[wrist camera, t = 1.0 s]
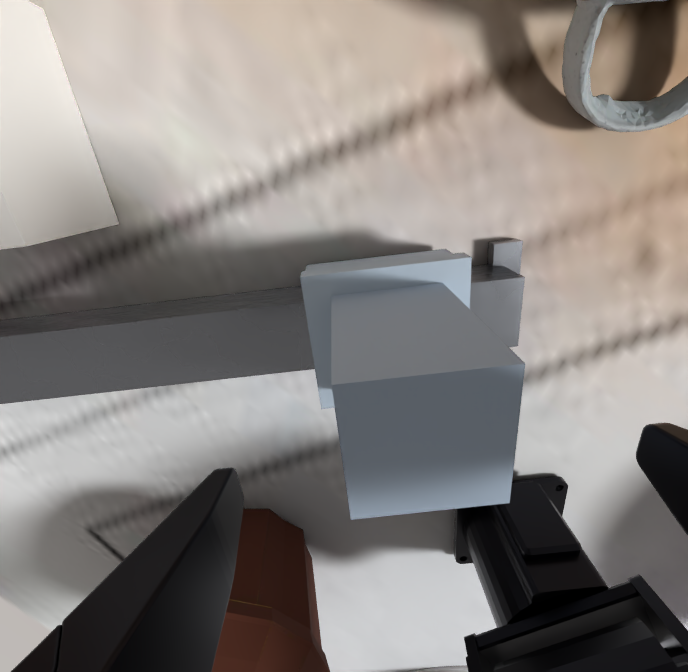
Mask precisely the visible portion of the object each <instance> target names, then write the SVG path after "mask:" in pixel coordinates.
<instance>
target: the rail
mask: <svg viewBox="0 0 688 672" xmlns="http://www.w3.org/2000/svg"><path fill="white" fill-rule="evenodd" d="M522 244H523V241H521V240H518V239H509V240H501V241H492V242H489V245H488V263H487V265H478V266H471V288H470V310H471V311H472V312H473V313H474V314H475V315H476V316H477V317H478V318H479V319H480V320H481V321H482V322H483V323H484V324H485V325H486V326H487V327H488V328H489V329H490V330H491V331H492V332H494V333H495V334H496V335H497V336H498V337H499V338H500V339H501V340H502V341H503V342H504V343H505V344H506V345H507V346H508V347H515V346H518V339H519V329H520V319H521V309H522V299H523V289H524V279H525V277H523V276H522V275H520V265H521V254H522ZM309 369H315V366H314V360H313V354H312V348H311V341H310V335H309V329H308V323H307V317H306V311H305V305H304V298H303V292H302V286H296V287H287V288H278V289H270V290H261V291H252V292H244V293H235V294H226V295H218V296H209V297H200V298H192V299H183V300H174V301H165V302H157V303H148V304H139V305H131V306H122V307H113V308H105V309H96V310H87V311H79V312H70V313H61V314H53V315H44V316H35V317H26V318H18V319H9V320H0V404H5V403H14V402H23V401H31V400H40V399H49V398H58V397H67V396H76V395H85V394H94V393H103V392H112V391H121V390H130V389H139V388H148V387H157V386H166V385H175V384H184V383H193V382H202V381H211V380H220V379H228V378H237V377H246V376H255V375H264V374H273V373H282V372H291V371H300V370H309Z"/></svg>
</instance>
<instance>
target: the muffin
mask: <svg viewBox="0 0 688 672" xmlns="http://www.w3.org/2000/svg"><path fill="white" fill-rule="evenodd" d="M212 672H330V670H329V667H328V663H327V660H326V656H325V653H324V652H323V650H322V647H321V638H320V629H319V619H318V610H317V601H316V592H315V583H314V574H313V565H312V557H311V555H310V553H309V551H308V549H307V547H306V545H305V539H304V533H303V530H302V529H300V528H298V527H296V526H295V525H293V524H291V523H289V522H287V521H285V520H283V519H282V518H281V517H279V516H278V515H277V514H275V513H274V512H273V511H271V510H270V509H245V508H243V514H242V521H241V528H240V536H239V543H238V551H237V558H236V566H235V572H234V578H233V583H232V588H231V592H230V596H229V601H228V605H227V609H226V613H225V617H224V622H223V626H222V630H221V634H220V638H219V643H218V647H217V651H216V655H215V659H214V663H213V668H212Z"/></svg>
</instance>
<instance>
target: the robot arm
mask: <svg viewBox="0 0 688 672" xmlns="http://www.w3.org/2000/svg"><path fill="white" fill-rule="evenodd" d="M636 459H637V462H638V464H639V466H640V467H641V469H642V470H643V472H644V473H645V475H646V476H647V478H648V479H649V481H650V482H651V483H652V485H653V486H654V488H655V489H656V491H657V492H658V494H659V495H660V497H661V498H662V499H663V501H664V502H665V504H666V505H667V507H668V508H669V510H670V511H671V513H672V514H673V515H674V517H675V518H676V520H677V521H678V523H679V524H680V525H681V527H682V528H683V530H684V531H685V532H686V534H687V535H688V430H687V429H684V428H681V427H679V426H676V425H673V424H670V423H656V424H649V425H646V426H645V427H644V428H643V430H642V434H641V437H640V441H639V444H638V448H637V451H636ZM567 489H568V485H567V483H566V482H565V481H564V479H563V478H562V477H548V478H539V479H530V480H520V481H512V486H511V495H510V503H505V504H496V505H486V506H477V507H467V508H458V509H455V530H454V556H455V559H456V562H457V563H460V564H466V563H474V565H475V568H476V571H477V574H478V576H479V579H480V582H481V585H482V587H483V590H484V593H485V596H486V598H487V601H488V604H489V606H490V609H491V612H492V615H493V617H494V620H495V623H496V626H497V628H495V629H492V630H490V631H487V632H484V633H481V634H478V635H475V634H471V635H468V636H466V637H464V640H465V645H466V650H467V655H468V656H467V657H466V662H467V667H468V672H688V630H687V629H686V628H685V627H684V626H683V625H682V623H681V622H680V621H679V620H678V619H677V618H676V616H675V615H674V614H673V613H672V612H671V611H670V609H669V608H668V607H667V606H666V605H665V604H664V602H663V601H662V600H661V599H660V598H659V597H658V595H657V594H656V593H655V592H654V591H653V590H652V588H651V587H650V586H649V585H648V584H647V583H646V581H645V580H644V579H643V578H642V577H641V576H640V575H637V576H634V577H631V578H629V579H628V582H625V583H622V584H619V585H617V586H614V587H611V588H608V586H607V585H606V583H605V582H604V580H603V579H602V577H601V576H600V574H599V573H598V571H597V570H596V568H595V567H594V565H593V564H592V562H591V561H590V559H589V558H588V556H587V555H586V553H585V552H584V550H583V549H582V547H581V545H580V543H579V541H578V540H577V538H576V537H575V535H574V534H573V532H572V531H571V529H570V528H569V526H568V525H567V523H566V522H565V520H564V519H563V517H562V514H563V509H564V504H565V499H566V494H567ZM243 506H244V497H243V492H242V489H241V485H240V482H239V479H238V475H237V472H236V470H235V469H234V468H222V469H216V470H214V471H213V472H212V473H211V474H210V475H209V476H208V477H207V478H206V479H205V480H204V481H203V482H202V483H201V484H200V485H199V486H198V487H197V488H196V489H195V490H194V491H193V492H192V493H191V494H190V495H189V496H188V497H187V498H186V499H185V500H184V501H183V502H182V503H181V504H180V505H179V506H178V507H177V508H176V509H175V510H174V511H173V512H172V513H171V514H170V515H169V516H168V517H167V518H166V519H165V520H164V521H163V522H162V523H161V524H160V525H159V526H158V527H157V528H156V529H155V530H154V531H153V532H152V533H151V534H150V535H149V536H148V537H147V538H146V539H145V540H144V541H143V542H142V543H141V544H140V545H139V546H138V547H137V548H136V549H135V550H134V551H133V552H132V553H131V554H129V555H128V556H127V557H126V558H125V559H124V560H123V561H122V562H121V563H120V564H119V565H118V566H117V567H116V568H115V569H114V570H113V571H112V572H111V573H110V574H109V575H108V576H107V577H106V578H105V579H104V580H103V581H102V582H101V583H100V584H99V585H98V586H97V587H96V588H95V589H94V590H93V591H92V592H91V593H90V594H89V595H88V596H87V597H86V598H85V599H84V600H83V601H82V602H81V603H80V604H79V605H78V606H77V607H76V608H75V609H74V610H73V611H72V612H71V613H70V614H69V615H68V616H67V617H66V618H65V619H64V621H63V623H62V625H58V626H57V627H56V628H55V629H54V630H53V631H52V632H51V633H50V634H49V635H48V636H47V637H46V638H45V639H44V640H43V641H42V642H41V643H40V644H39V645H38V646H37V647H36V648H35V649H34V650H33V651H32V652H31V653H30V654H29V655H28V656H27V657H25V659H23V660H22V661H21V662H20V663H19V664H18V665H17V666H16V667H15V668H14V669H13V670H12V671H11V672H212V668H213V663H214V659H215V655H216V651H217V647H218V643H219V638H220V634H221V630H222V626H223V622H224V617H225V613H226V609H227V605H228V601H229V596H230V592H231V588H232V583H233V578H234V572H235V566H236V558H237V551H238V543H239V536H240V528H241V521H242V514H243Z"/></svg>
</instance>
